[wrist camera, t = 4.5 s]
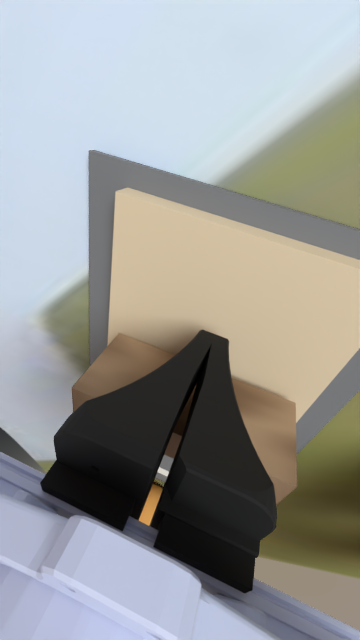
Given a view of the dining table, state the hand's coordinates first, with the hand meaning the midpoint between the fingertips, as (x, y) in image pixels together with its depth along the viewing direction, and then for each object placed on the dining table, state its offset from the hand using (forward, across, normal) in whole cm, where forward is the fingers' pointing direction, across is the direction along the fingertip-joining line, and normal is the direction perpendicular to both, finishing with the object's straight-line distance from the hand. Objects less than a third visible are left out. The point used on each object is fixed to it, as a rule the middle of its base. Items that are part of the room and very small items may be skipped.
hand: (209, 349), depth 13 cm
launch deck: (+3, 0, +11) cm, 11 cm away
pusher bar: (+1, 0, +3) cm, 3 cm away
